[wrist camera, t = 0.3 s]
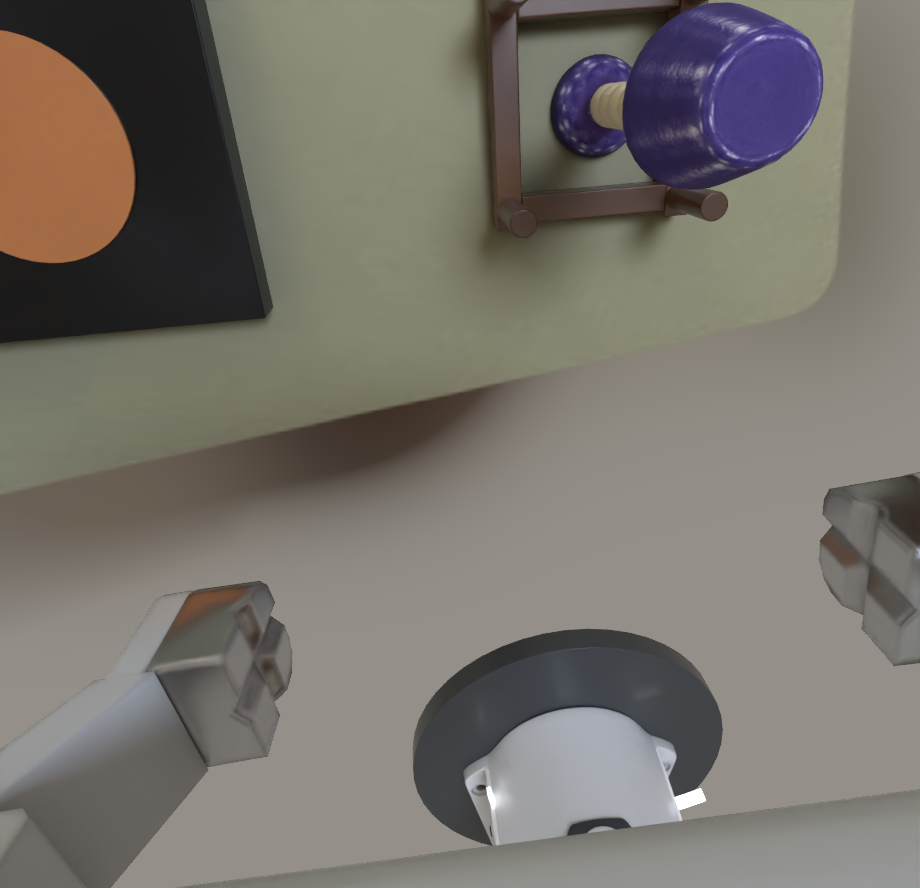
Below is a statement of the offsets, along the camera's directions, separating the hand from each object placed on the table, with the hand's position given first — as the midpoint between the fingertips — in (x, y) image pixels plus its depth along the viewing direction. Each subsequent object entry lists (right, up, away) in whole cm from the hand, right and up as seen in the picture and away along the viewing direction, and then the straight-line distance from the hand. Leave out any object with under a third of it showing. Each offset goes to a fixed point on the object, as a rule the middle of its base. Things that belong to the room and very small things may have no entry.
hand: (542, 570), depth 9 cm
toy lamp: (+5, +18, +20) cm, 27 cm away
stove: (-20, +15, +19) cm, 32 cm away
